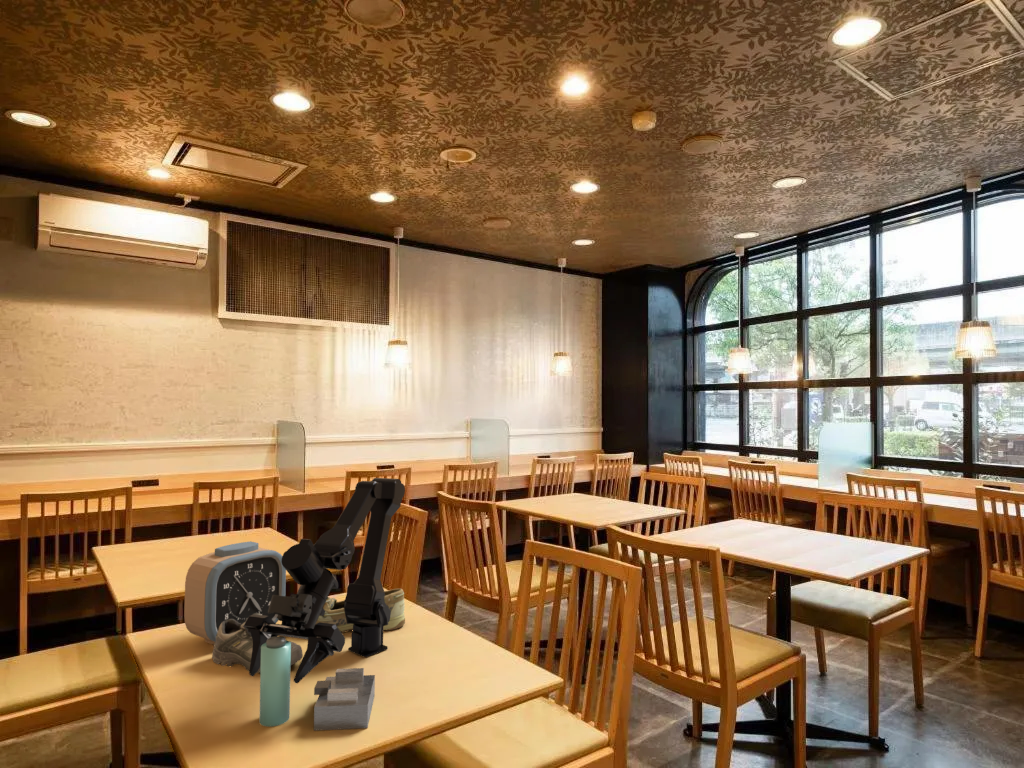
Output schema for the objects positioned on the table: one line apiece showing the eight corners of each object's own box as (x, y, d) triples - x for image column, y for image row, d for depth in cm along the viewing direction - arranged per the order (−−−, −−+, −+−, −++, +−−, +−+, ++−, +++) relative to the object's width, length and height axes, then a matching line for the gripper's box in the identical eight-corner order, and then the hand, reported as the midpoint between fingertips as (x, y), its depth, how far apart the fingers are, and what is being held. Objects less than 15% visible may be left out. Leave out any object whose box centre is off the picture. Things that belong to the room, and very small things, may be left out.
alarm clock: (208, 656, 140) (210, 557, 140) (183, 646, 145) (185, 551, 145) (285, 628, 157) (287, 540, 158) (261, 621, 162) (263, 536, 163)
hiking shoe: (282, 671, 128) (295, 609, 134) (194, 670, 133) (211, 611, 139) (306, 677, 135) (318, 619, 141) (222, 677, 140) (237, 620, 147)
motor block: (321, 698, 121) (322, 667, 121) (374, 696, 122) (375, 665, 122) (308, 730, 109) (309, 696, 109) (367, 728, 110) (368, 694, 110)
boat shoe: (283, 625, 160) (284, 588, 160) (402, 616, 167) (403, 581, 168) (279, 641, 150) (279, 601, 150) (406, 631, 157) (407, 593, 157)
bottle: (279, 709, 116) (281, 632, 116) (295, 718, 113) (296, 638, 113) (253, 720, 112) (255, 640, 112) (269, 729, 109) (270, 647, 109)
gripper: (251, 571, 120) (206, 651, 109) (338, 579, 115) (299, 665, 104) (276, 601, 128) (236, 679, 117) (359, 610, 122) (325, 693, 111)
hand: (272, 678), depth 112 cm, fingers open, 9 cm apart
